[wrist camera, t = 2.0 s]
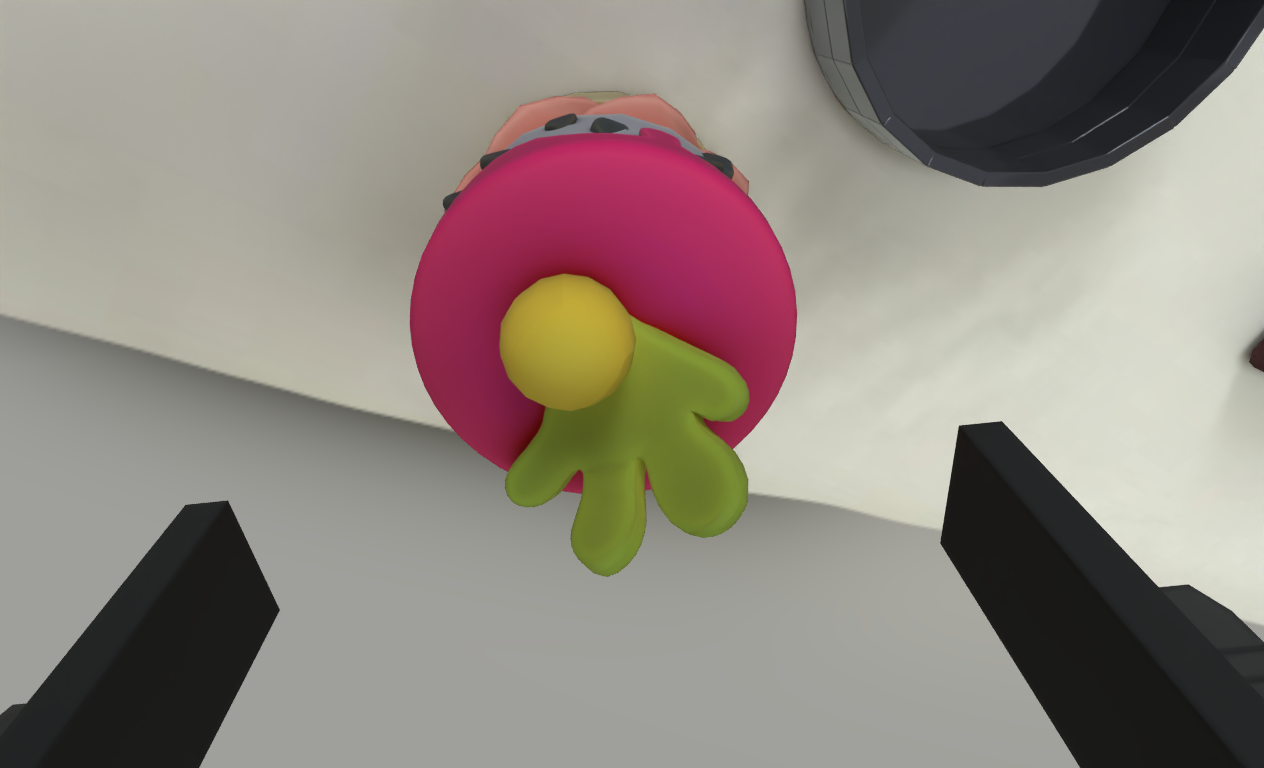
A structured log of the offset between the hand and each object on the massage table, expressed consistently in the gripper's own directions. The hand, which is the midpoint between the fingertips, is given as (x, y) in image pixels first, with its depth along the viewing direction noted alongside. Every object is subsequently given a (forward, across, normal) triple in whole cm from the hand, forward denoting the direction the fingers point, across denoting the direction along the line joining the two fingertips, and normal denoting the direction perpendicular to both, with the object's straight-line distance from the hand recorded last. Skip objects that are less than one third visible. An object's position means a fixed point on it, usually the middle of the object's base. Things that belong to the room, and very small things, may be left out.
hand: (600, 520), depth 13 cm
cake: (+17, 0, +1) cm, 17 cm away
